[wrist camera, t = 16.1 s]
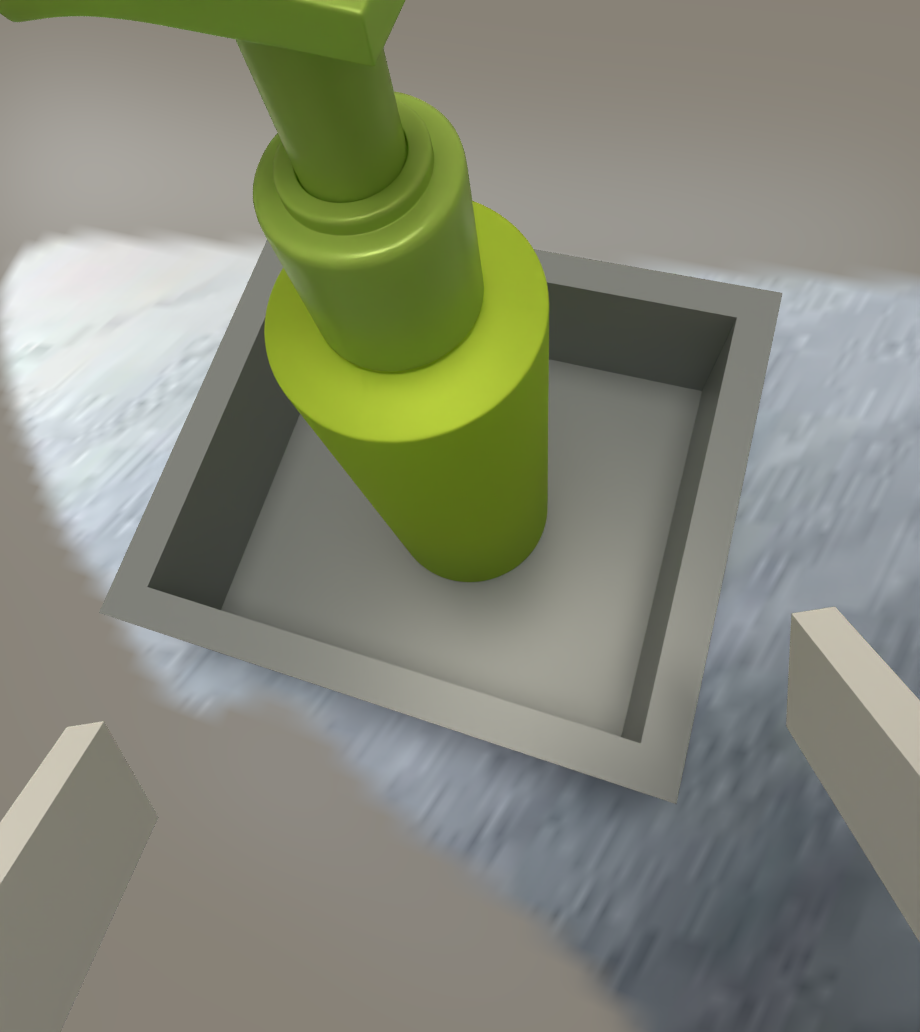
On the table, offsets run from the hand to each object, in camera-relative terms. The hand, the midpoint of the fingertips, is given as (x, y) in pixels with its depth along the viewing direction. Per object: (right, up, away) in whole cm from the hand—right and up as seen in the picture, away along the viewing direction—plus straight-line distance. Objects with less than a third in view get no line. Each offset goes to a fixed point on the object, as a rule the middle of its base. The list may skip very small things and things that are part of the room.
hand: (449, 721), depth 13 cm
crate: (0, +4, +14) cm, 15 cm away
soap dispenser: (0, +4, +13) cm, 14 cm away
